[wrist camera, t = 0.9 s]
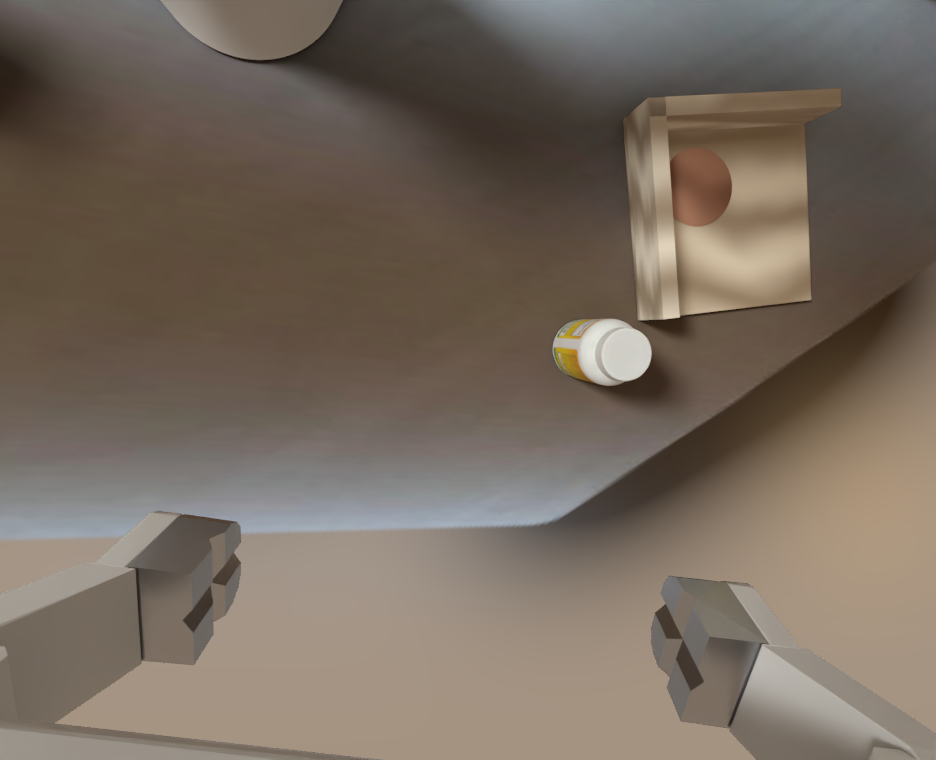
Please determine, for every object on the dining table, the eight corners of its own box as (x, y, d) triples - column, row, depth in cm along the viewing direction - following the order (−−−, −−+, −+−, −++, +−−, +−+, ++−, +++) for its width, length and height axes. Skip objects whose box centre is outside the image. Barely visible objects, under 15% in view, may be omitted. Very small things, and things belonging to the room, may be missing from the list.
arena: (622, 119, 47) (648, 97, 42) (800, 109, 50) (841, 88, 45) (637, 320, 49) (663, 319, 44) (807, 300, 52) (847, 297, 47)
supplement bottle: (559, 313, 48) (604, 308, 38) (612, 328, 49) (669, 328, 39) (544, 370, 48) (584, 380, 38) (597, 384, 49) (649, 397, 39)
